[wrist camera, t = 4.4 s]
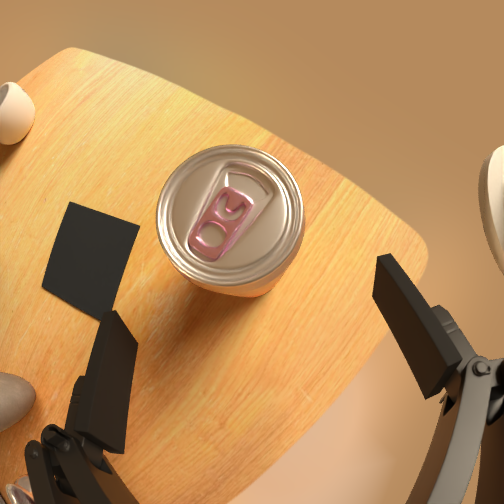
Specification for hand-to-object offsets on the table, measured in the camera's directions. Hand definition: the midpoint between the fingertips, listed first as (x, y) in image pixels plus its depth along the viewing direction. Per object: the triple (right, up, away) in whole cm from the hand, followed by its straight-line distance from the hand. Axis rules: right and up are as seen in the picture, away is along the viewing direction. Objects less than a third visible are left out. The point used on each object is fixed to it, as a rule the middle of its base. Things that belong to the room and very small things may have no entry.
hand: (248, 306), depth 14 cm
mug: (-36, +23, +17) cm, 46 cm away
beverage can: (0, +2, +12) cm, 12 cm away
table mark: (-17, +2, +12) cm, 21 cm away
